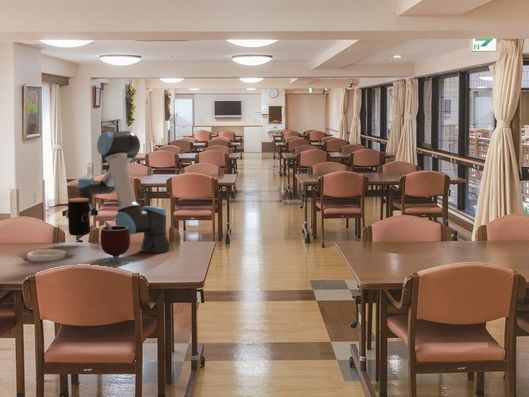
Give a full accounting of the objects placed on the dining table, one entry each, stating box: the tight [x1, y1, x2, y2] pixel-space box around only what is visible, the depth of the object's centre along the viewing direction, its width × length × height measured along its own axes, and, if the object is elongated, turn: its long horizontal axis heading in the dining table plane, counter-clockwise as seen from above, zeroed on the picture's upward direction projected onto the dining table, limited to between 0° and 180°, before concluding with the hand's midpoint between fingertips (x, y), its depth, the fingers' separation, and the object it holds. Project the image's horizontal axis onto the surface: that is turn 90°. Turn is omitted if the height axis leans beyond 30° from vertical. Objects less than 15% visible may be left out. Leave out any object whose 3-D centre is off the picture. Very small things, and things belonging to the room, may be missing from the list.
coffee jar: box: [67, 197, 91, 237], centre depth 374 cm, size 11×11×18 cm
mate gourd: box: [100, 220, 131, 267], centre depth 351 cm, size 16×14×20 cm
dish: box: [26, 248, 67, 262], centre depth 364 cm, size 18×18×2 cm
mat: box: [19, 254, 74, 265], centre depth 364 cm, size 22×20×1 cm
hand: (78, 215), depth 371 cm, fingers closed on coffee jar, 11 cm apart
